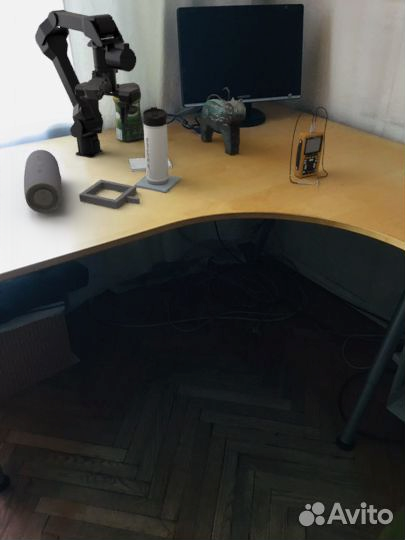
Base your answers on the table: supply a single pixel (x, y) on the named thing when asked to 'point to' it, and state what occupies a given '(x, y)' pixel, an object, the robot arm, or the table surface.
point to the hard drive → (141, 164)
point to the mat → (159, 188)
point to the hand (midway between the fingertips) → (110, 122)
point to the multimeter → (309, 151)
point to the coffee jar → (129, 118)
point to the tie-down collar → (106, 202)
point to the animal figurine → (223, 121)
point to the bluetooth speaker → (42, 182)
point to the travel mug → (156, 146)
